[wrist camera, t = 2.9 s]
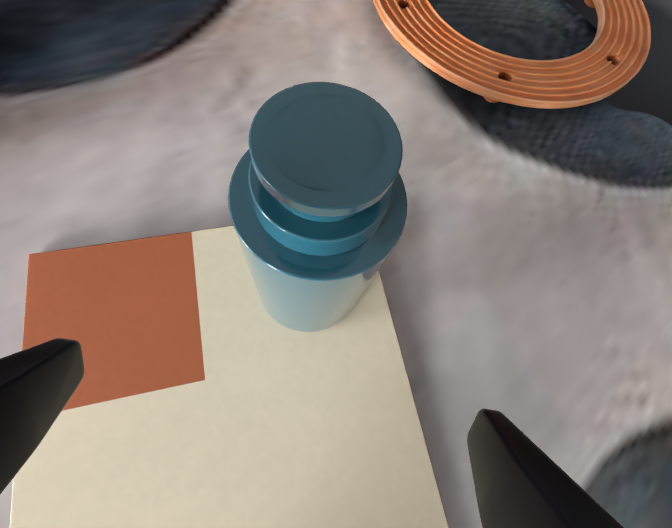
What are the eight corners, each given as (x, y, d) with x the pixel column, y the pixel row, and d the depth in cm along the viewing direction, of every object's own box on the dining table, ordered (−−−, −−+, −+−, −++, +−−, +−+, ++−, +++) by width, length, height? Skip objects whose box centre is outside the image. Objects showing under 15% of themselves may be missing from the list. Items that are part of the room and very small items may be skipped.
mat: (454, 556, 18) (457, 560, 17) (3, 710, 14) (-5, 719, 14) (360, 210, 24) (361, 207, 24) (33, 256, 20) (28, 254, 20)
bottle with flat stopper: (369, 320, 21) (469, 225, 9) (265, 341, 20) (222, 264, 8) (346, 228, 23) (403, 49, 11) (250, 243, 22) (198, 61, 10)
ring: (351, 91, 28) (356, 64, 25) (378, -89, 37) (383, -121, 34) (651, 148, 29) (681, 127, 27) (605, -39, 38) (625, -66, 36)
